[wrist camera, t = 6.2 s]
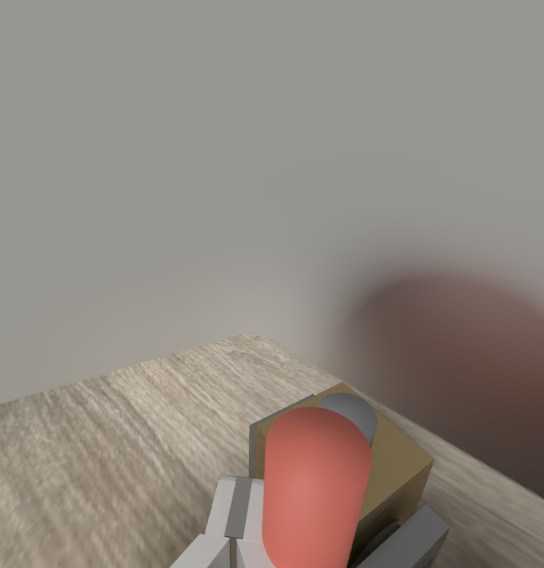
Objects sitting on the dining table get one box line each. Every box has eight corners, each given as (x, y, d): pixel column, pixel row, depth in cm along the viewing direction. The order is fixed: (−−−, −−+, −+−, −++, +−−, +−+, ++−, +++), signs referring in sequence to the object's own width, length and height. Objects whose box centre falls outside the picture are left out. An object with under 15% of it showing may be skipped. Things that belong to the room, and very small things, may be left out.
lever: (322, 405, 20) (341, 263, 16) (376, 422, 19) (410, 275, 15) (231, 660, 11) (224, 463, 7) (330, 722, 10) (394, 533, 6)
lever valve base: (240, 484, 25) (240, 398, 21) (313, 441, 28) (324, 361, 25) (348, 667, 16) (378, 579, 13) (431, 574, 20) (473, 485, 16)
